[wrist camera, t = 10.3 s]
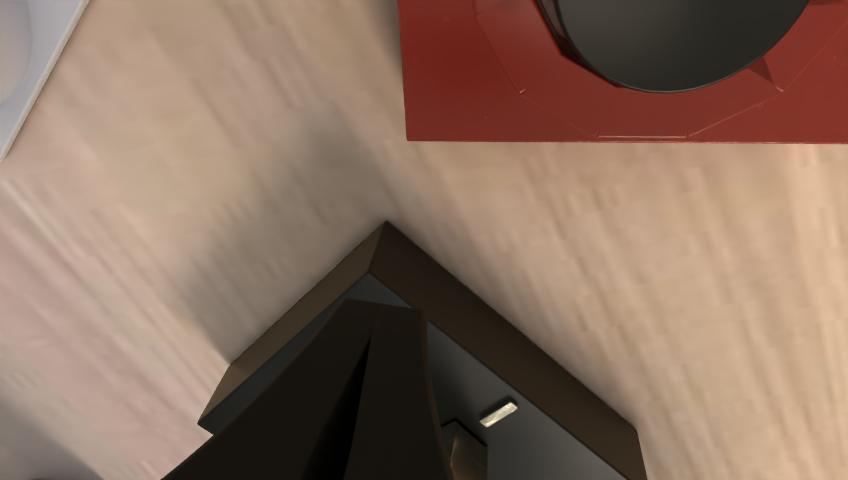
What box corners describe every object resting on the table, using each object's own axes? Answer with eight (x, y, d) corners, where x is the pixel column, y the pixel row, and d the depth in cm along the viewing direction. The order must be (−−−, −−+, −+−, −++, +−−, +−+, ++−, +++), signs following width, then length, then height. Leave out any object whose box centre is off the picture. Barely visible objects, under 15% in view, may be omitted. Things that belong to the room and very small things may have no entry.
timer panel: (228, 366, 24) (193, 428, 22) (386, 218, 20) (366, 274, 17) (458, 523, 28) (452, 592, 25) (637, 429, 23) (653, 502, 21)
